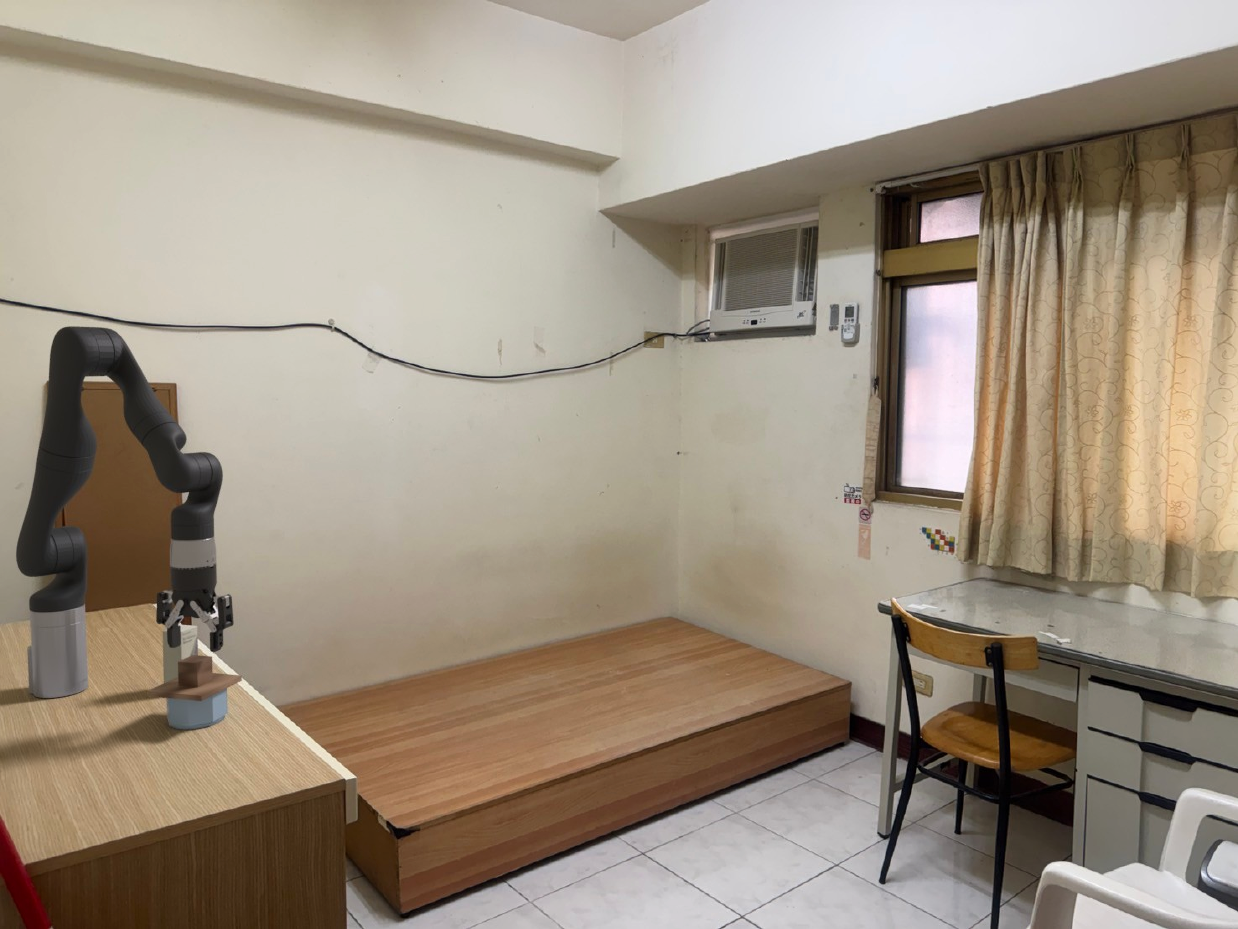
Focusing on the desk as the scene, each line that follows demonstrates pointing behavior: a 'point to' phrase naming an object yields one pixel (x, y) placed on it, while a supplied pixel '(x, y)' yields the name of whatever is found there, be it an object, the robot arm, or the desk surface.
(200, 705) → the bowl
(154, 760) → the desk surface
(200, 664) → the lid
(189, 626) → the box
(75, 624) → the robot arm
